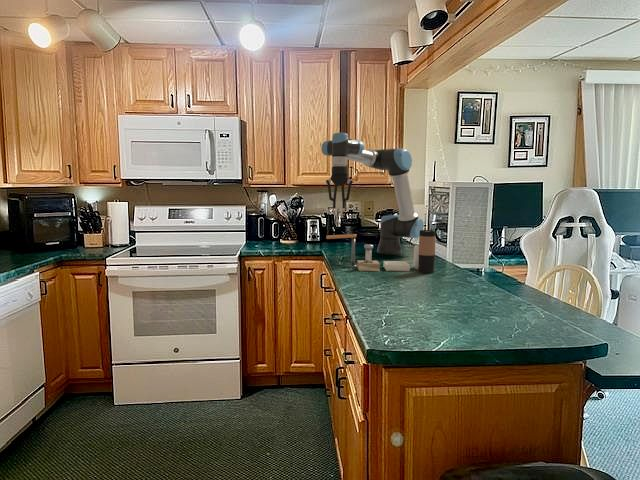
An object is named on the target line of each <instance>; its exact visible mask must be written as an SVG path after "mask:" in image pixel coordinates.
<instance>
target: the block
mask: <svg viewBox="0 0 640 480" xmlns="http://www.w3.org/2000/svg"><path fill="white" fill-rule="evenodd" d="M356 262H357V264H356V265H357V270H358V271H359V272H380V270H381V268H380V267H381V264H380V262H379V261H378V260H372V259H371V263H365V260H362V259H361V260H356Z"/></svg>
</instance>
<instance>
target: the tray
mask: <svg viewBox="0 0 640 480" xmlns="http://www.w3.org/2000/svg"><path fill="white" fill-rule="evenodd" d="M382 264H383V269H385V271H386V272H410V271H411V267H410V266H411V265H410V264H409V263H408V262H407V261H405V260H404V261H401V260H400V261H399V260H398V261H396V260H383V263H382Z"/></svg>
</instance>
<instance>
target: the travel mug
mask: <svg viewBox="0 0 640 480" xmlns="http://www.w3.org/2000/svg"><path fill="white" fill-rule="evenodd" d="M436 233H437V231H435V230H432V229H423V230H420V234H419V235H420V236H419V237H418V239H419V240H418V245H419V269H418V273H420V274H428V275H429V274H430V275H431V274H434V273H435V272H434V271H435V258H436V237H437V236H436Z"/></svg>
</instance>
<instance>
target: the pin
mask: <svg viewBox="0 0 640 480" xmlns="http://www.w3.org/2000/svg"><path fill="white" fill-rule="evenodd" d="M363 248H364V249H365V254H364V255H365V257H364V258H365V263H371V260H372V259H373V258H372V256H373V255H372V253H373V252H372V251H373V250H372V249H374V244H371V243H370V244H367V243H366V244H364V245H363Z"/></svg>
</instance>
